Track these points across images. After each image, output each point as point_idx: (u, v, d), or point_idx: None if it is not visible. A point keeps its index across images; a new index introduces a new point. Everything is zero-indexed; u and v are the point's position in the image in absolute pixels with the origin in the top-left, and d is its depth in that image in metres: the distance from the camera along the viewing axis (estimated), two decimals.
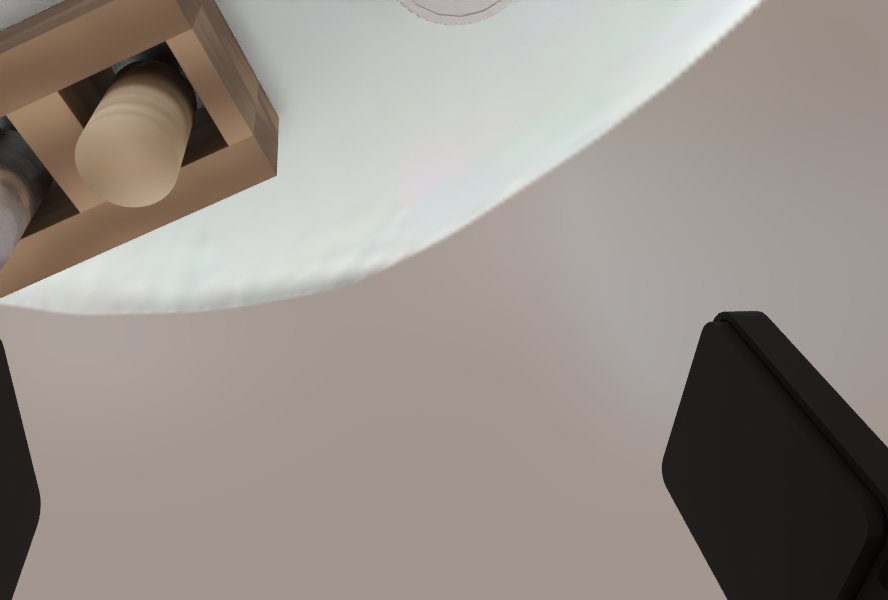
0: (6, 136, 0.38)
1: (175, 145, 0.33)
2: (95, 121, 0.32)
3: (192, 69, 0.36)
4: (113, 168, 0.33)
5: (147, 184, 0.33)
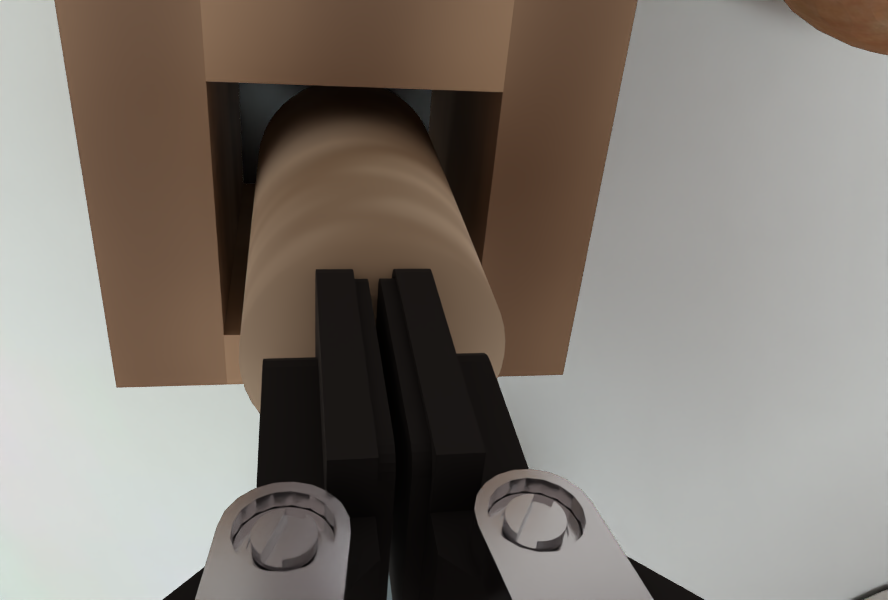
0: None
1: None
2: (503, 343, 0.12)
3: None
4: None
5: None
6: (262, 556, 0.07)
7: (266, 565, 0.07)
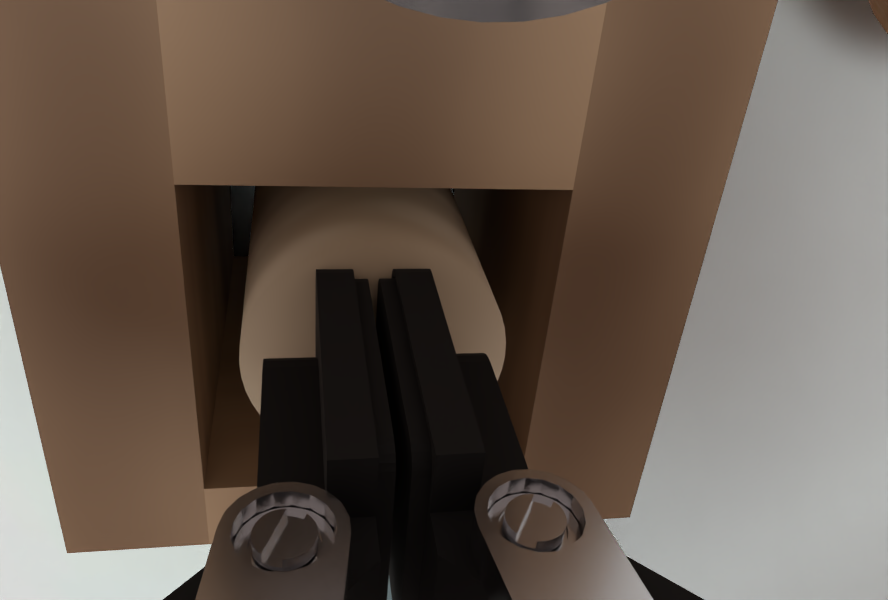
0: None
1: None
2: (503, 345, 0.12)
3: None
4: None
5: None
6: (262, 556, 0.07)
7: (266, 565, 0.07)
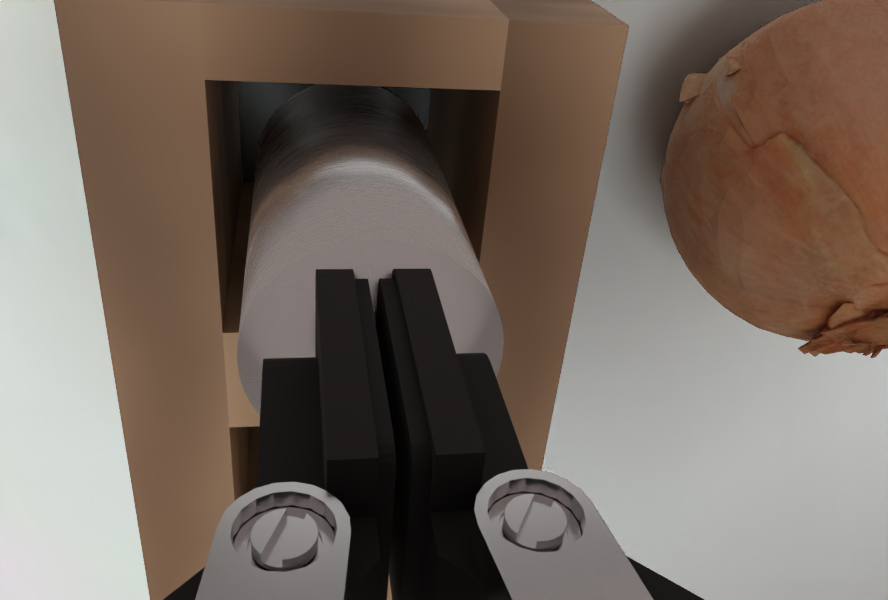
0: None
1: None
2: None
3: None
4: None
5: None
6: (262, 556, 0.07)
7: (266, 565, 0.07)
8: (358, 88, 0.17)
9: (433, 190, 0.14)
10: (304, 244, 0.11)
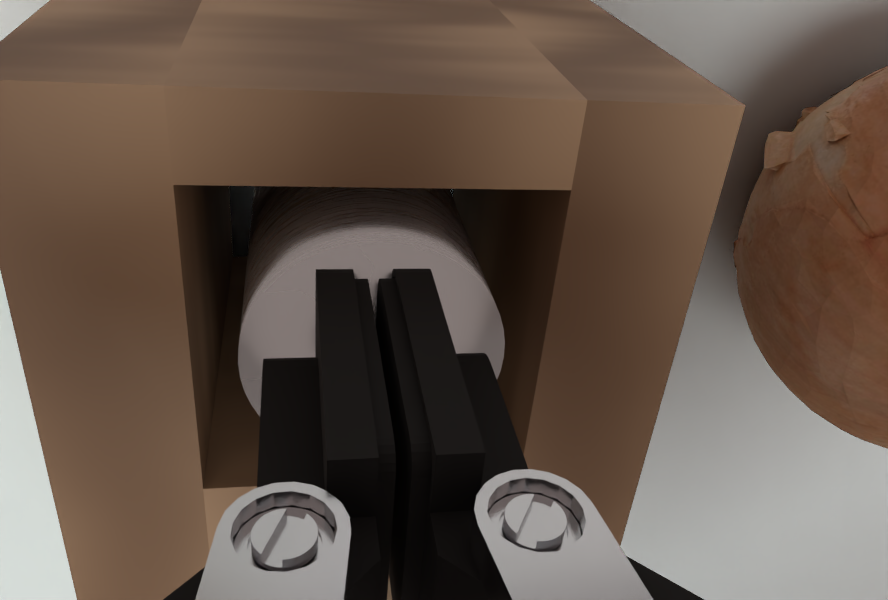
0: None
1: None
2: None
3: None
4: None
5: None
6: (262, 556, 0.07)
7: (266, 565, 0.07)
8: None
9: (434, 192, 0.14)
10: (305, 246, 0.11)
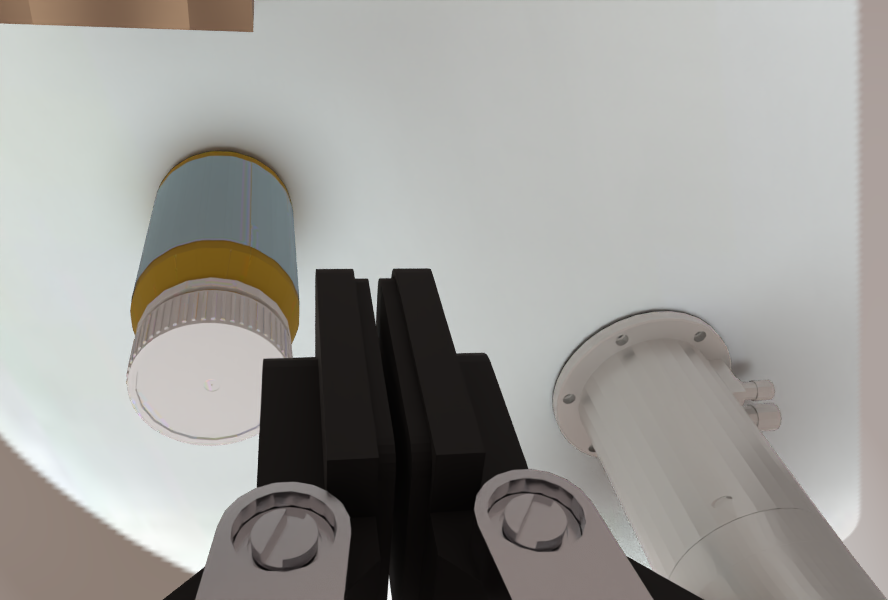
0: None
1: None
2: None
3: (142, 2, 0.29)
4: None
5: None
6: (262, 556, 0.07)
7: (266, 565, 0.07)
8: None
9: None
10: None
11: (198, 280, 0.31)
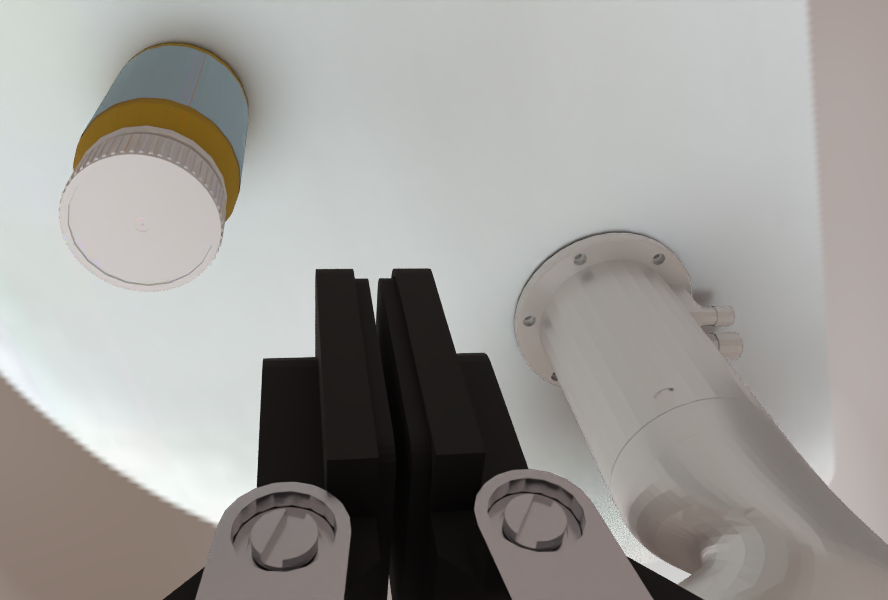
0: None
1: None
2: None
3: None
4: None
5: None
6: (262, 556, 0.07)
7: (266, 565, 0.07)
8: None
9: None
10: None
11: (134, 127, 0.32)
